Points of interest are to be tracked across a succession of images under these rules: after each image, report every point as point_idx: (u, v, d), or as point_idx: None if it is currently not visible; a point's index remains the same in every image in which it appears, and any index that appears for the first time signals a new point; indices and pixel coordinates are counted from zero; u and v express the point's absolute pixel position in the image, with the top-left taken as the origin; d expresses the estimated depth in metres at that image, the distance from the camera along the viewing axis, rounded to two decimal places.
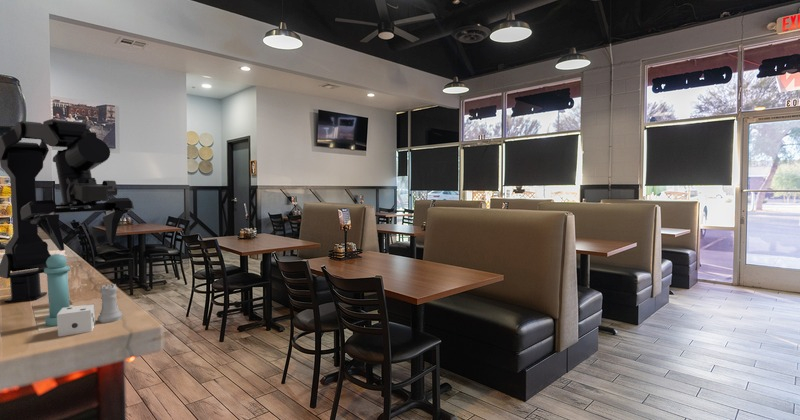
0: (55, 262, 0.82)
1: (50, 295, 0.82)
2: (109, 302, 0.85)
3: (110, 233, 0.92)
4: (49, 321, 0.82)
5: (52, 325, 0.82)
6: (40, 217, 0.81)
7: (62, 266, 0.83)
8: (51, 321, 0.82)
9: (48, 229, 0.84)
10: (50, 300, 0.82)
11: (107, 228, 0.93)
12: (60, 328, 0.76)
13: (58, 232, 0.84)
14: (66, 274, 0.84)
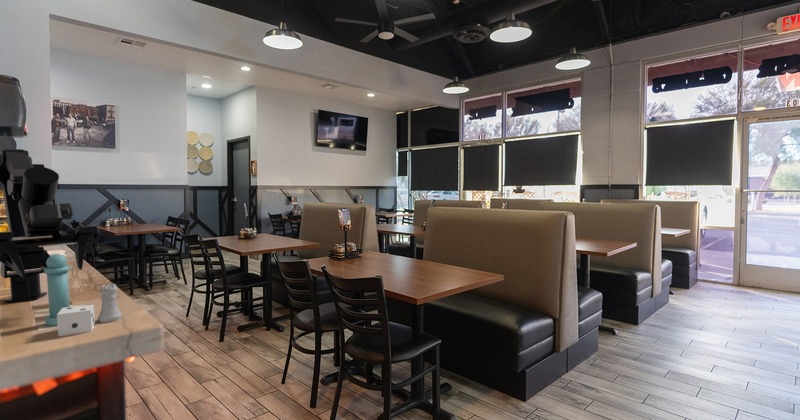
0: (55, 262, 0.82)
1: (50, 295, 0.82)
2: (109, 302, 0.84)
3: (78, 258, 0.90)
4: (49, 321, 0.82)
5: (52, 325, 0.82)
6: None
7: (62, 266, 0.83)
8: (51, 321, 0.82)
9: (10, 261, 0.84)
10: (50, 300, 0.82)
11: (76, 257, 0.91)
12: (60, 328, 0.76)
13: (17, 258, 0.83)
14: (66, 274, 0.84)
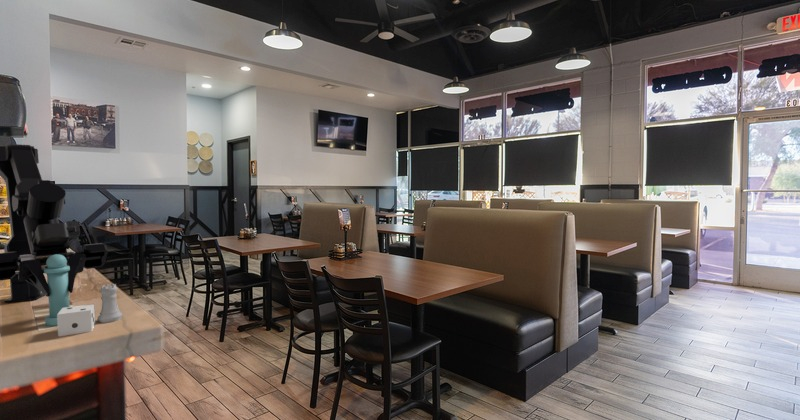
0: (55, 262, 0.82)
1: (50, 295, 0.82)
2: (109, 302, 0.85)
3: (68, 280, 0.85)
4: (49, 321, 0.82)
5: (52, 325, 0.82)
6: (20, 264, 0.80)
7: (62, 266, 0.83)
8: (51, 321, 0.82)
9: (35, 280, 0.83)
10: (50, 300, 0.82)
11: None
12: (60, 328, 0.76)
13: (42, 277, 0.82)
14: (66, 274, 0.84)
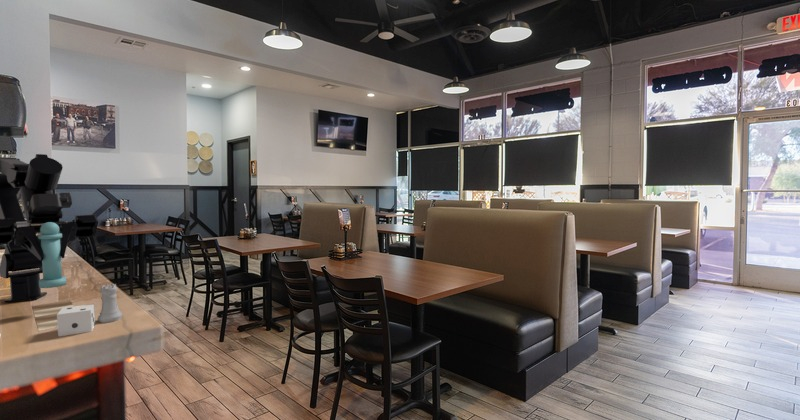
0: (48, 229, 0.89)
1: (43, 259, 0.89)
2: (109, 302, 0.85)
3: (60, 247, 0.92)
4: (42, 283, 0.89)
5: (45, 287, 0.89)
6: (16, 230, 0.87)
7: (55, 233, 0.90)
8: (44, 283, 0.89)
9: (29, 245, 0.90)
10: (43, 264, 0.89)
11: (60, 245, 0.93)
12: (60, 328, 0.76)
13: (36, 243, 0.89)
14: (58, 241, 0.91)
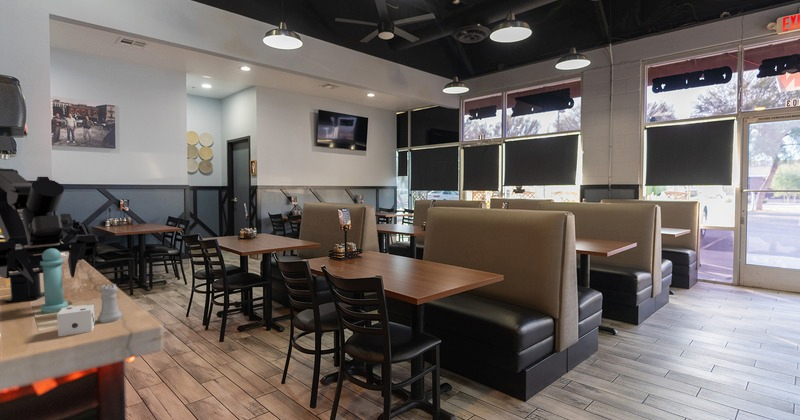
0: (50, 255, 0.91)
1: (45, 285, 0.91)
2: (109, 302, 0.85)
3: (70, 266, 0.95)
4: (44, 309, 0.90)
5: (47, 312, 0.90)
6: (8, 253, 0.88)
7: (56, 259, 0.92)
8: (46, 309, 0.90)
9: (22, 268, 0.90)
10: (45, 290, 0.91)
11: (69, 265, 0.96)
12: (60, 328, 0.76)
13: (28, 265, 0.89)
14: (60, 266, 0.93)
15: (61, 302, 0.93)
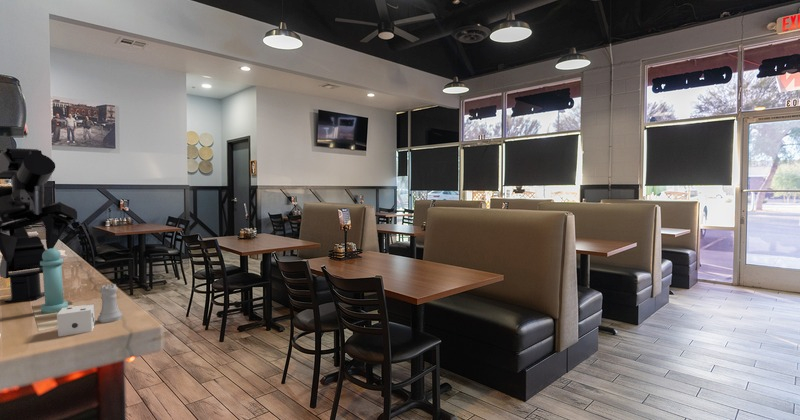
0: (50, 255, 0.91)
1: (45, 285, 0.91)
2: (109, 302, 0.85)
3: None
4: (44, 309, 0.90)
5: (47, 312, 0.90)
6: None
7: (56, 259, 0.92)
8: (46, 309, 0.90)
9: None
10: (45, 290, 0.91)
11: None
12: (60, 328, 0.76)
13: (1, 246, 0.94)
14: (60, 266, 0.93)
15: (61, 302, 0.93)
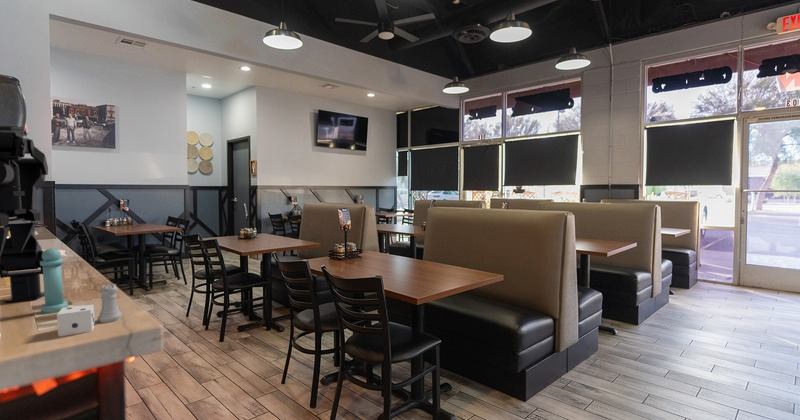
0: (50, 255, 0.91)
1: (45, 285, 0.91)
2: (109, 302, 0.84)
3: None
4: (44, 309, 0.90)
5: (47, 312, 0.90)
6: None
7: (56, 259, 0.92)
8: (46, 309, 0.90)
9: None
10: (45, 290, 0.91)
11: None
12: (60, 328, 0.76)
13: None
14: (60, 266, 0.93)
15: (61, 302, 0.93)
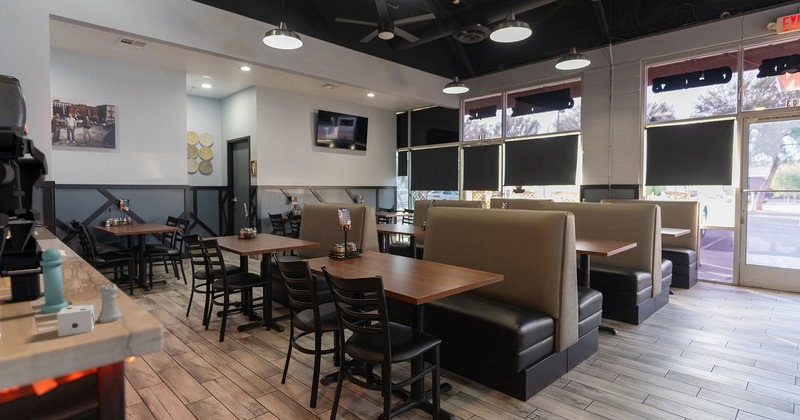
0: (50, 255, 0.91)
1: (45, 285, 0.91)
2: (109, 302, 0.84)
3: None
4: (44, 309, 0.90)
5: (47, 312, 0.90)
6: None
7: (56, 259, 0.92)
8: (46, 309, 0.90)
9: None
10: (45, 290, 0.91)
11: None
12: (60, 328, 0.76)
13: None
14: (60, 266, 0.93)
15: (61, 302, 0.93)
